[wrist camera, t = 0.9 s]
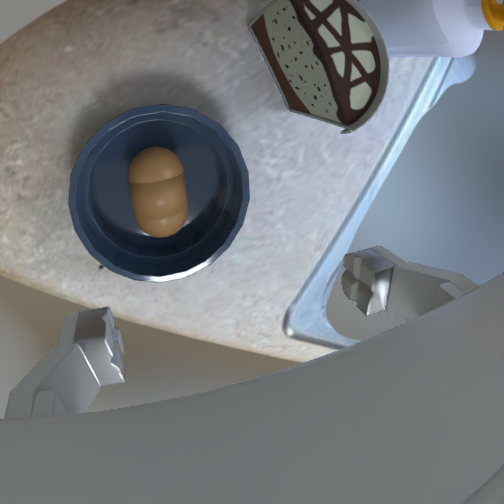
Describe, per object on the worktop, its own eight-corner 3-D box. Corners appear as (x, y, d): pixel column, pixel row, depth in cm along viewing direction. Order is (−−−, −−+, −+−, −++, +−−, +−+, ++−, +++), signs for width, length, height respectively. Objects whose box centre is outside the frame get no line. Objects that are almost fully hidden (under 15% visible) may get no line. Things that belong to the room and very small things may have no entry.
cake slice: (342, 101, 29) (411, 109, 21) (294, 124, 29) (357, 137, 21) (295, -5, 23) (356, -34, 14) (240, 12, 23) (287, -23, 14)
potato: (125, 148, 25) (121, 156, 21) (177, 139, 26) (184, 145, 22) (138, 230, 28) (139, 251, 24) (187, 220, 29) (195, 240, 25)
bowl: (68, 123, 22) (53, 126, 18) (227, 97, 26) (244, 96, 22) (99, 268, 29) (94, 295, 25) (237, 240, 33) (253, 263, 28)
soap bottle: (343, -9, 24) (562, -44, 3) (398, -14, 24) (583, -23, 4) (371, 63, 28) (593, 89, 8) (420, 50, 29) (604, 76, 8)
